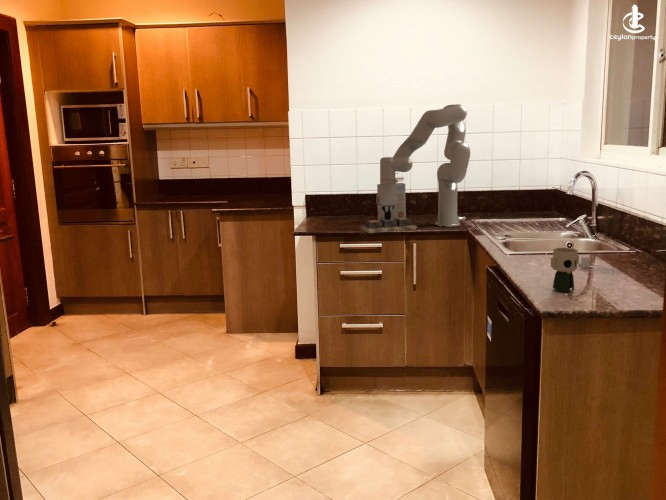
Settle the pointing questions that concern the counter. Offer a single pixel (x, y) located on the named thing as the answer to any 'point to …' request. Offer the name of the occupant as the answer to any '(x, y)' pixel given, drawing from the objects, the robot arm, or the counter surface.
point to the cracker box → (401, 209)
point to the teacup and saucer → (585, 263)
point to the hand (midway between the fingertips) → (387, 219)
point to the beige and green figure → (564, 268)
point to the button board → (387, 226)
